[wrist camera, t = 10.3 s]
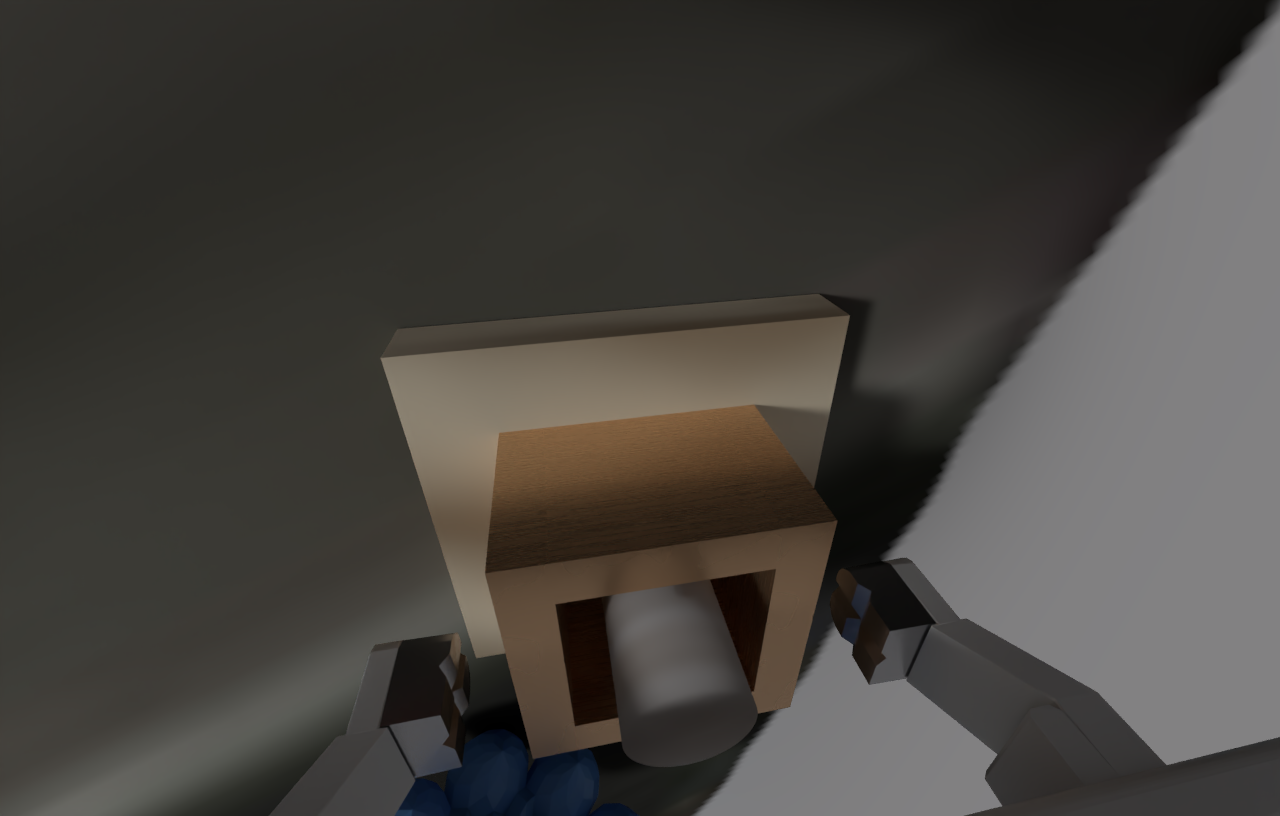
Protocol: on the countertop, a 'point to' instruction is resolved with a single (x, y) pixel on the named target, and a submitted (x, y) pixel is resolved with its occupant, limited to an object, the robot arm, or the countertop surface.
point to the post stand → (602, 391)
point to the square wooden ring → (647, 554)
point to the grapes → (512, 784)
